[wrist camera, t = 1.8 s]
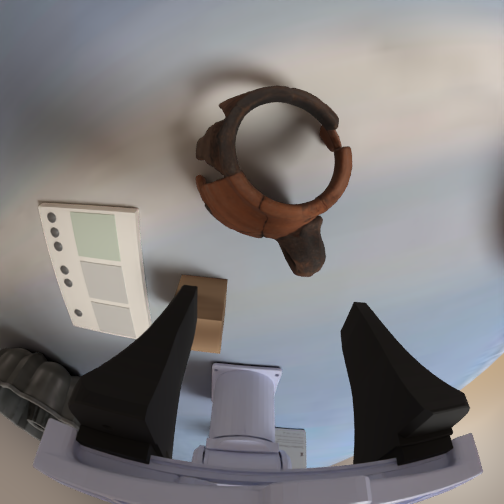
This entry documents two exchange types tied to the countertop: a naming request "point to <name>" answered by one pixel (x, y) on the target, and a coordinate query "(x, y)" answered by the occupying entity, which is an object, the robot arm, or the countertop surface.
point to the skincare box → (293, 445)
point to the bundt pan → (34, 391)
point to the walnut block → (208, 311)
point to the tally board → (99, 266)
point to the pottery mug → (253, 201)
